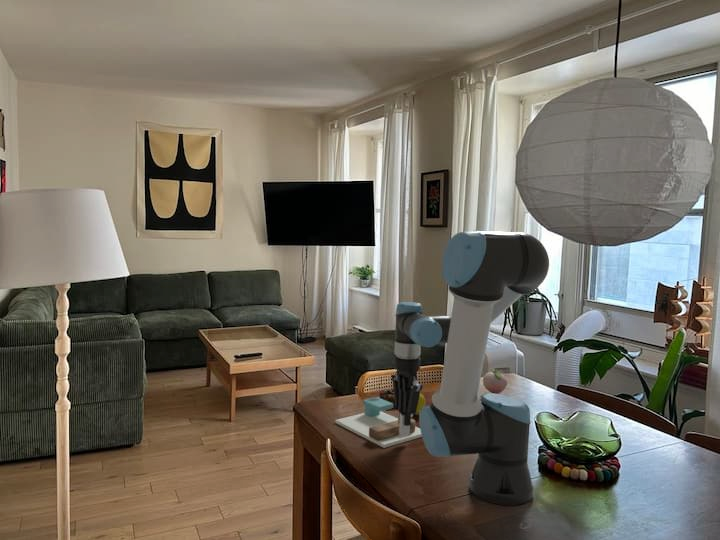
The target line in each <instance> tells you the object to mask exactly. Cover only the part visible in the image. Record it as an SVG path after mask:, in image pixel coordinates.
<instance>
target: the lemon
mask: <svg viewBox="0 0 720 540" xmlns="http://www.w3.org/2000/svg"><path fill="white" fill-rule="evenodd" d="M424 406H426V397H424V395H423V394H422V393H421V392H420V395H419V400H418V405H417V410H416V414H414V415H416V416H418V415H419V414H420V410H421V408H423V407H424Z"/></svg>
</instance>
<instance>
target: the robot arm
mask: <svg viewBox="0 0 720 540" xmlns="http://www.w3.org/2000/svg"><path fill="white" fill-rule="evenodd" d="M546 249H547V248H545V246H544V244H543V243H542V242H541V241H540V240H539V239H537V238H536V237H535V236H533V235H531V234H529V233H526V232H522V231H521V232H520V231H507V232H506V231H487V230H486V231H483V230H472V231H471V230H470V231H459V232H458V233H455V234H454V235H453V236H452V237H451V238H450V239H449V240H448V241H447V243H446V246H445V248H444V251H443V254H442V259H441V268H442V271H441V275H442V279H443V281H444V282H445V284H446V285H448V291H449V293H450V294H451V295H452V296H453V304H452V308H451V309H452V310H451V314H450V315H449V314H448V315H424V309H423V304H422V303H419V302H414V301H402V302H399V303H397V304H396V310H395V315H394V316H395V330H394V331H395V334H394V338H395V339H394V350H393V351H394V355H395V356H394V359H393V360H394V361H393V367H394V369H395V370H396V371H395V372H396V373H392V374H391V381H392V388H393V389H392V390H394V401H395V408H394V409H397V410H398V411H397V412H398V413H399V415H398V416H399V418H398V419H399V422H400V423H399V435H400V436H407V435H410V424H411V419H412V417H411V414H412V415H415V414H416V410H417V405H418V400H419V395H420V393H421V392H422V389H423V388H424V387H423V384H420V383H419V382H418V375H417V374H418V371H420V369H421V357H420V356H421V347H424V348H432V347H434V346H436V345H438V344H446V347H445V348H446V349H445V355H444V360H443V368H442V373H441V379H440V380H441V381H440V387H439V389H438V390H436V391H435V392H434V393H433V394H432V396H431V401H430V405H428V404H427V405H426V404H425V406H424V407H423V408H421V410H420V413H419V414H418V415H419V417H418V419H419V420H418V421H419V428H420V430H421V434H422V437H421V438H422V441H423V443H424V446H425V448H426V450H427V452H429V454H431V456H433V457H437V458H438V457H445V458H446V457H447V458H450V457H455V456H456V457H457V456H466V455H476V454H478V456H477V460H476V461H475V464H474V466H473V469H472V471H471V474H470V477H469V489H470V491H471V493H472V494H473V495H475V496H476V497H477V498H479V499H481V500H482V501H484V502H488V503H491V504H496V505H501V506H502V505H503V506H519V505H524V504H526V503H528V502H530V501H531V500H532V499H533V497H534V484H533V480H532V477H531V472H530V469H529V466H528V455H529V442H530V441H529V440H530V438H529V437H530V425H531V410H530V407H529V405H528V404H527V403H525V401H523V400H520V399H518V398H516V397H513V396H511V395H510V396H509V395H505V394H500V393H499V394H494V393H491V392H490V393H484V394H482V395H481V397H480V398H478V393H479V387H480V383H481V382H480V381H481V378H482V377H481V376H482V372H483V366H484V361H485V355H486V349H487V345H488V338H489V333H490V328H491V324H492V323H494V321H495V320H496V319H497V318H499V317H500V316H502V314H503V313H504V312H505V311H506V310H507V309H509V308H510V307H511V306H512V305H513V304H514V303H515V302H516V301H518V300H519V299H520V298H521V297H522V296H524V295H525V296H526V295H529V294H531V293H533V292H535V290H536V289H538V288H539V286H541V284H542V283H543V282H544V281H545V279H546V277H547V276H548V272H549V267H550V257H549V254H548V252H547V250H546Z"/></svg>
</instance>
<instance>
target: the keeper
mask: <svg viewBox="0 0 720 540" xmlns="http://www.w3.org/2000/svg"><path fill="white" fill-rule="evenodd" d="M363 405H364V413H365V415H367V416H369V417H372V416H376V415H380V411H382V412H384V411H386V410H390V409H392V408H393V403H390V402H388V401H385V400H383V399H381V398H380V397H378V396H377V397H374V396H373V397H371V398H364V400H363ZM393 409H394V408H393Z"/></svg>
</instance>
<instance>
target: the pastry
mask: <svg viewBox="0 0 720 540" xmlns="http://www.w3.org/2000/svg"><path fill="white" fill-rule="evenodd" d="M379 398H381V399H383V400H385V401H388V402H390V403H393V409H396V408H395V401H394V390H393V389H383V390H382V391H379Z"/></svg>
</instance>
